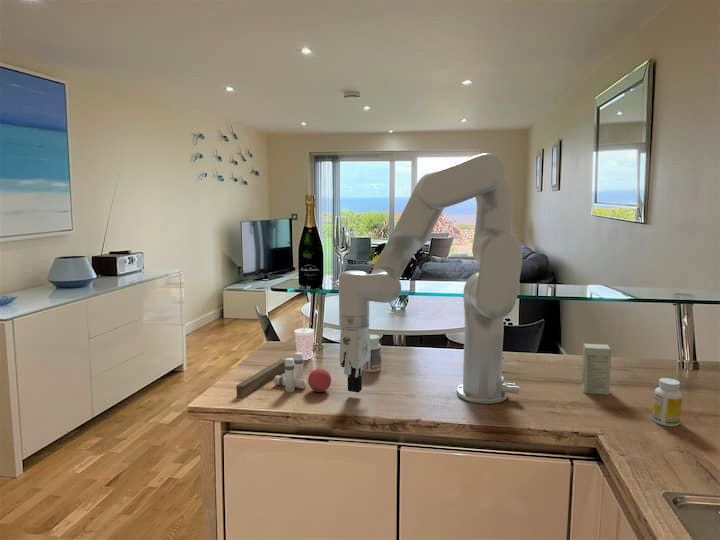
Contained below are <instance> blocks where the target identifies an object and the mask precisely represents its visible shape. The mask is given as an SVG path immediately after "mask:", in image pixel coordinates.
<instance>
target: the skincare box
mask: <svg viewBox="0 0 720 540" xmlns="http://www.w3.org/2000/svg"><path fill="white" fill-rule="evenodd" d="M582 345H583V346H582V367H581V368H582V370H581V389H582V392H583V393H584V394H593V395H595V394H596V395H598V394H599V395H610V389H611V388H610V385H611V381H610V380H611V364H612V363H611V358H612V356H611V355H612V349H611V346H610V345H609V344H604V343H603V344H601V343H600V344H599V343H583V344H582Z"/></svg>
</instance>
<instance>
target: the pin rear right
mask: <svg viewBox="0 0 720 540" xmlns="http://www.w3.org/2000/svg"><path fill="white" fill-rule="evenodd" d="M293 359H294V378H298V379H304V361H303V353H301V352H297V351H296V352H294V353H293Z"/></svg>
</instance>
